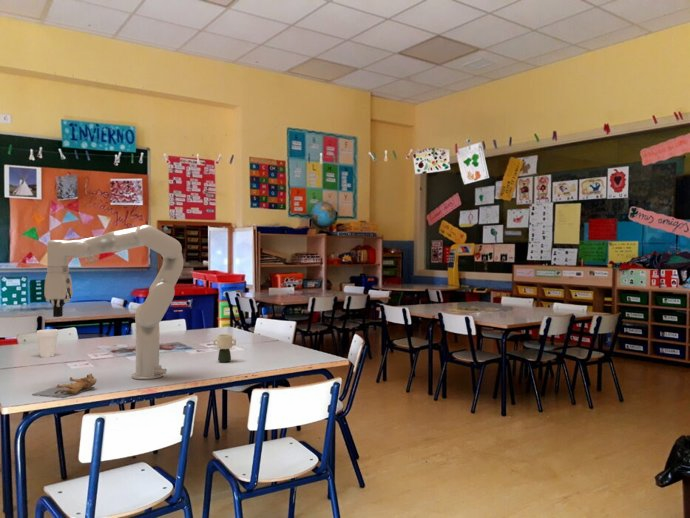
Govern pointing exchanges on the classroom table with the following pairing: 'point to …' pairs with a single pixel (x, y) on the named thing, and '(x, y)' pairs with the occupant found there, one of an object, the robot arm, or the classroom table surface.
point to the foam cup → (47, 342)
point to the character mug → (224, 346)
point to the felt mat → (60, 394)
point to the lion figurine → (78, 384)
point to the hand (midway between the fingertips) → (57, 316)
